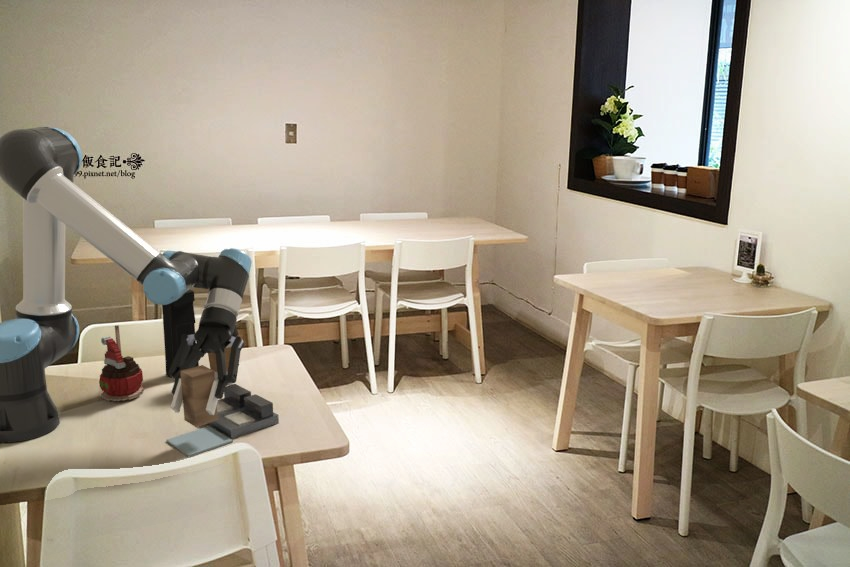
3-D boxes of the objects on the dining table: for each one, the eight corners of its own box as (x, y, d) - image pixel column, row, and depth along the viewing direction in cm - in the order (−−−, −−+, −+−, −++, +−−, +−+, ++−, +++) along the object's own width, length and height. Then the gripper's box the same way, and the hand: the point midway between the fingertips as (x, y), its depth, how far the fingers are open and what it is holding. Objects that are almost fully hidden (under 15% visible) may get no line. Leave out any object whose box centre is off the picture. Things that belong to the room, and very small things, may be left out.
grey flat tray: (192, 415, 176) (191, 395, 175) (238, 401, 184) (237, 382, 183) (231, 439, 164) (230, 417, 163) (278, 423, 172) (277, 402, 171)
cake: (153, 395, 188) (147, 324, 184) (118, 407, 180) (111, 334, 176) (127, 385, 194) (121, 317, 190) (93, 396, 187) (85, 326, 182)
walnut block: (184, 420, 162) (180, 370, 159) (206, 413, 165) (202, 365, 162) (196, 427, 158) (192, 377, 156) (217, 420, 162) (214, 370, 159)
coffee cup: (227, 373, 203) (224, 318, 199) (247, 380, 198) (245, 324, 194) (200, 381, 197) (196, 325, 193) (220, 389, 191) (217, 332, 188)
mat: (166, 441, 163) (166, 439, 163) (209, 427, 170) (209, 425, 170) (189, 456, 156) (189, 455, 156) (232, 442, 163) (232, 440, 163)
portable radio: (189, 367, 207) (182, 277, 201) (203, 372, 204) (197, 280, 198) (164, 375, 201) (156, 283, 195) (178, 380, 197) (171, 286, 191)
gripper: (268, 323, 171) (243, 421, 159) (184, 319, 174) (154, 414, 162) (258, 307, 164) (231, 407, 153) (171, 303, 168) (139, 401, 156)
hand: (192, 411), depth 158 cm, fingers closed on walnut block, 7 cm apart
